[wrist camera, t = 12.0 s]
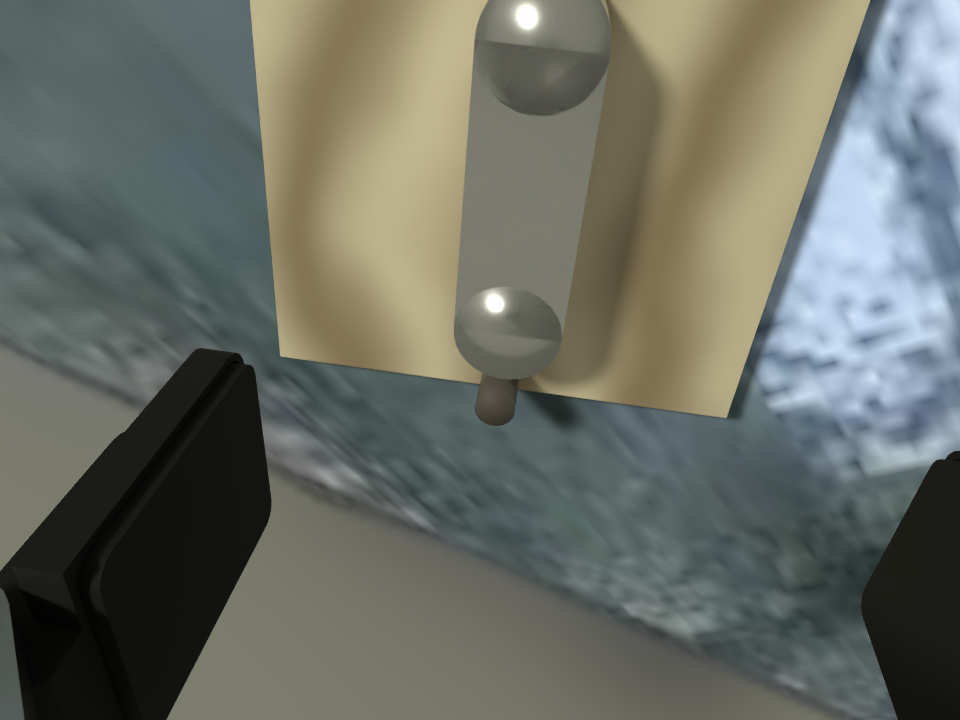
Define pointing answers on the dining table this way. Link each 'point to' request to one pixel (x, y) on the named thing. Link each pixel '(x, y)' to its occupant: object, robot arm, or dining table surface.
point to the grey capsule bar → (527, 177)
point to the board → (609, 202)
